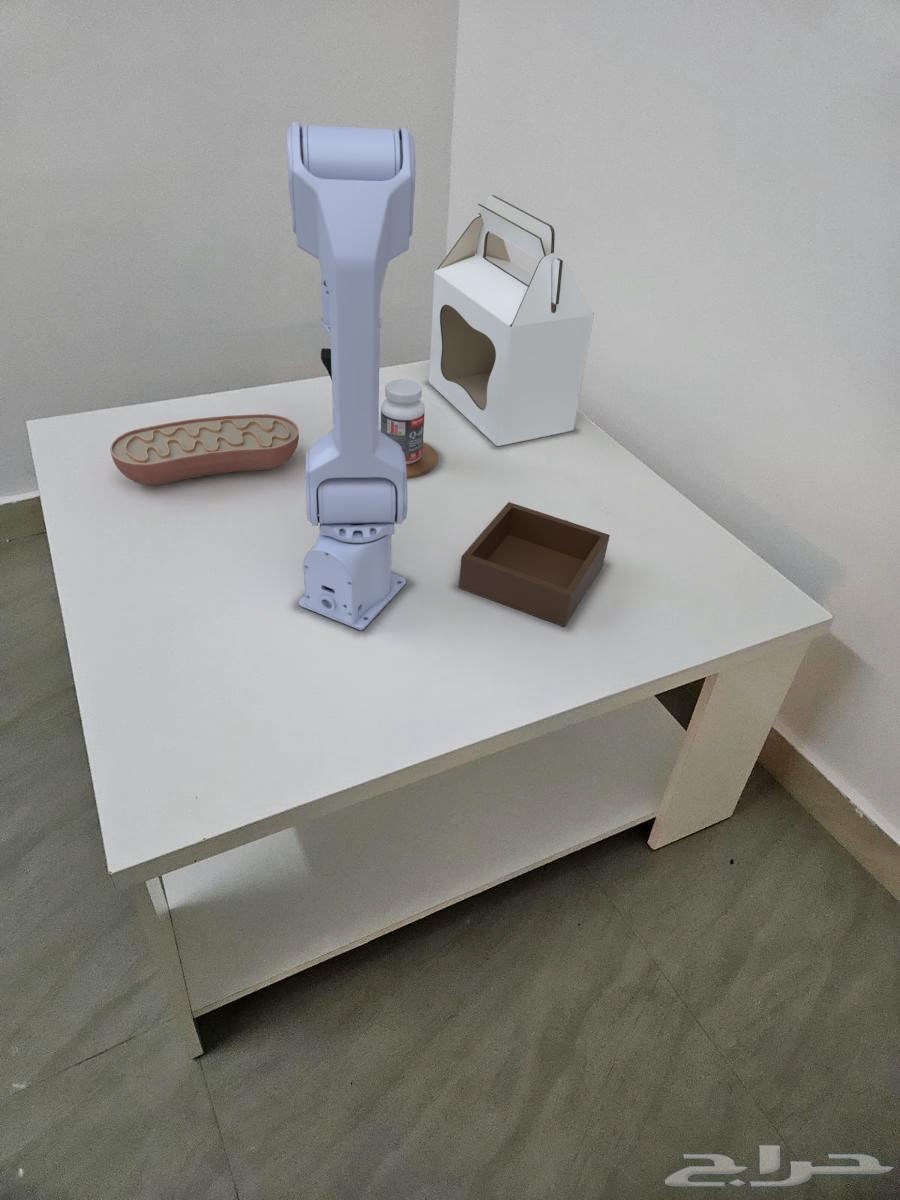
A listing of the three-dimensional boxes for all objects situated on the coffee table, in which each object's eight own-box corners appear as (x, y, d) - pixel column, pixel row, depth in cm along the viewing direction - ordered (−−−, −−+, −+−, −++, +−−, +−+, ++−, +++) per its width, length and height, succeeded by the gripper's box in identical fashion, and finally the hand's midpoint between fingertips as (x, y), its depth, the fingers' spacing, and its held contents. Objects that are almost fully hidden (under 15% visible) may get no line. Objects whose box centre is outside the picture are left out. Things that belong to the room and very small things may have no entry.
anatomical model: (121, 504, 98) (113, 468, 95) (114, 463, 105) (106, 428, 102) (308, 477, 106) (306, 443, 102) (290, 440, 113) (288, 407, 109)
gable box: (427, 382, 129) (436, 190, 111) (499, 370, 134) (519, 185, 117) (497, 448, 115) (521, 239, 97) (575, 432, 120) (611, 230, 102)
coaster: (415, 486, 106) (415, 482, 105) (349, 464, 109) (349, 460, 109) (450, 453, 113) (450, 450, 112) (387, 433, 116) (387, 430, 116)
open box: (564, 627, 86) (571, 595, 83) (458, 587, 90) (461, 556, 87) (603, 565, 95) (610, 534, 92) (504, 532, 99) (508, 501, 96)
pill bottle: (416, 469, 108) (419, 400, 102) (375, 462, 109) (375, 393, 102) (426, 448, 112) (430, 380, 106) (386, 442, 113) (387, 374, 107)
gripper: (380, 306, 88) (379, 420, 97) (382, 262, 99) (381, 368, 108) (314, 303, 88) (319, 418, 96) (323, 259, 99) (327, 366, 107)
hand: (348, 391), depth 102 cm, fingers open, 7 cm apart
